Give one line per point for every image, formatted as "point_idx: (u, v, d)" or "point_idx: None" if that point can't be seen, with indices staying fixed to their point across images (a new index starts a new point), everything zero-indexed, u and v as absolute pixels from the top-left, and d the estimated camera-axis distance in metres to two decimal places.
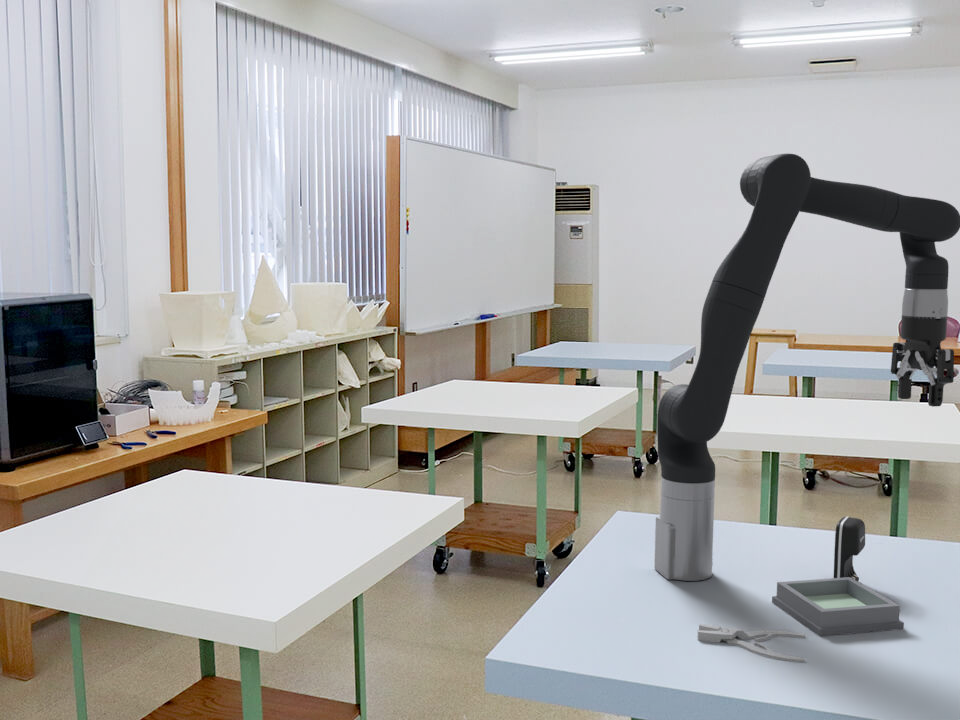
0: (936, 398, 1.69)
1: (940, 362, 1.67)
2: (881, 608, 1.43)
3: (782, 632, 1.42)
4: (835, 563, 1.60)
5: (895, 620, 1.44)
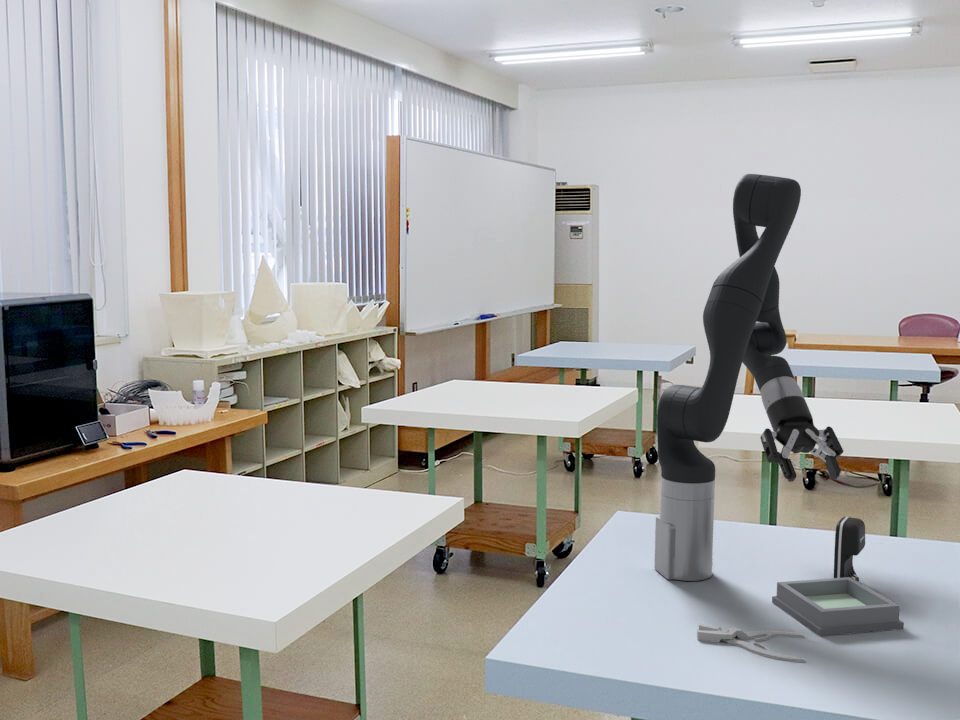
0: (839, 468, 1.74)
1: (834, 436, 1.78)
2: (881, 608, 1.43)
3: (782, 631, 1.42)
4: (835, 563, 1.60)
5: (895, 620, 1.44)
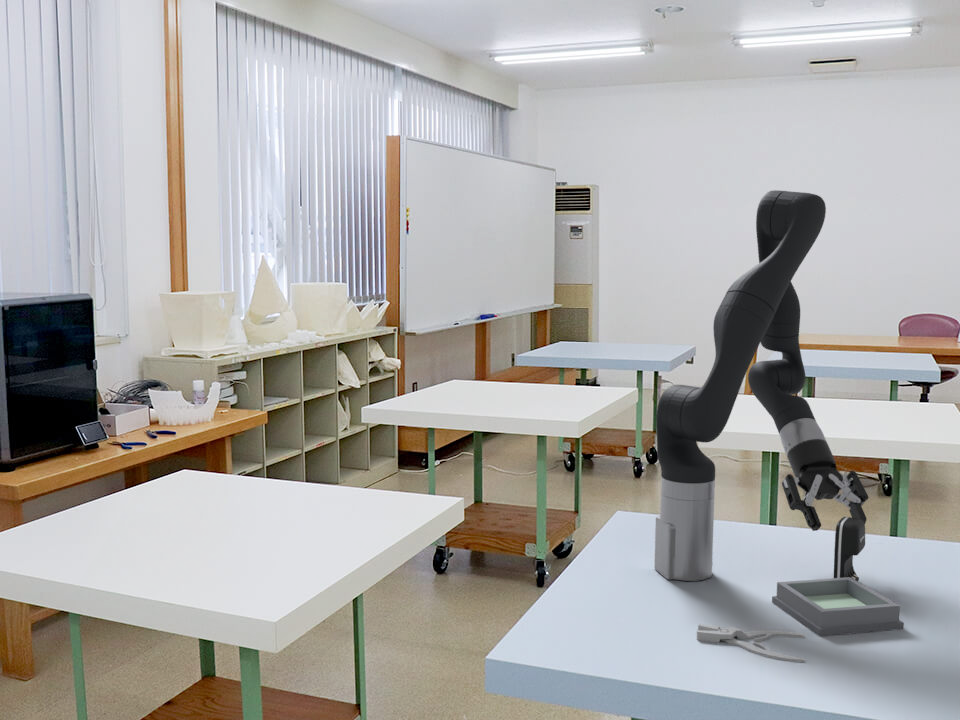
0: (864, 516, 1.67)
1: (858, 481, 1.71)
2: (881, 608, 1.43)
3: (781, 631, 1.42)
4: (835, 563, 1.60)
5: (895, 620, 1.44)
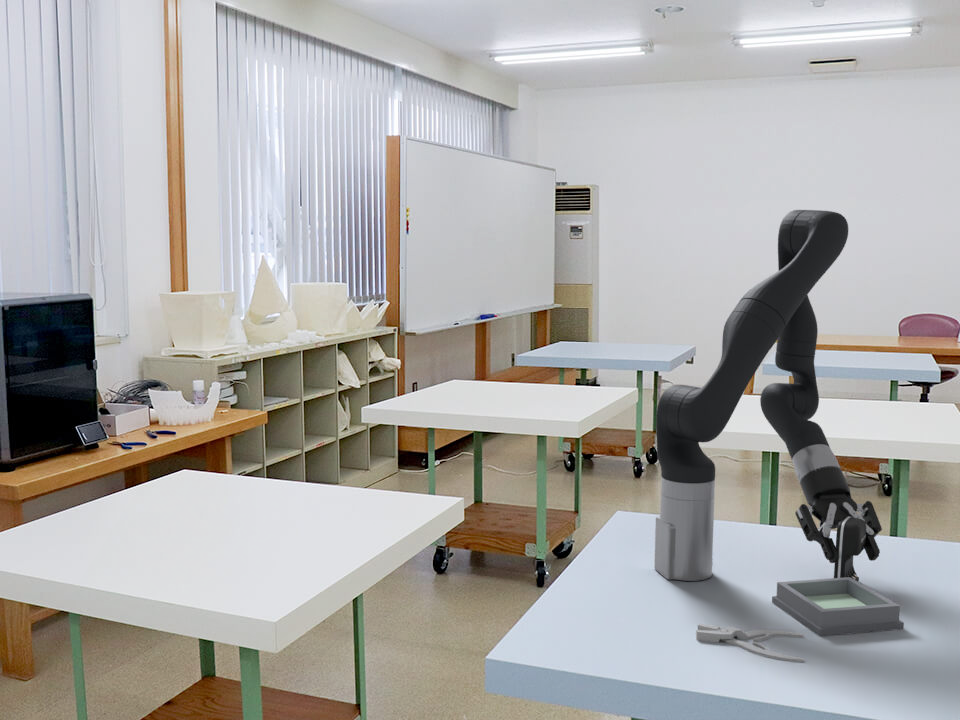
0: None
1: (873, 512, 1.66)
2: (881, 608, 1.43)
3: (781, 631, 1.42)
4: (836, 563, 1.60)
5: (895, 620, 1.44)
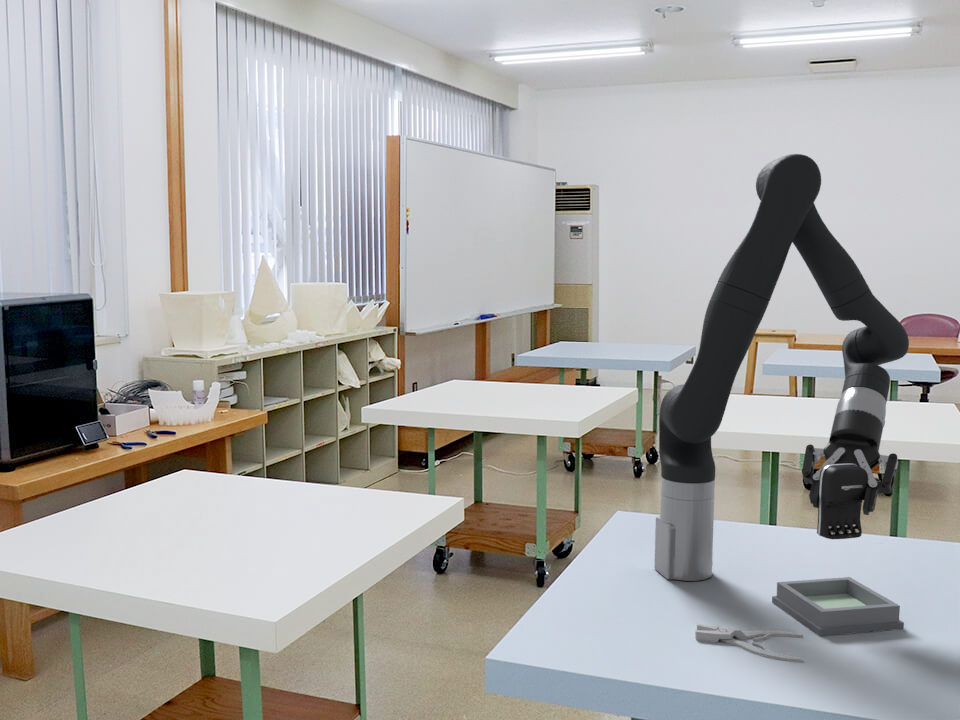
0: (874, 502, 1.44)
1: (891, 465, 1.46)
2: (881, 608, 1.43)
3: (780, 631, 1.42)
4: (818, 508, 1.48)
5: (895, 620, 1.44)
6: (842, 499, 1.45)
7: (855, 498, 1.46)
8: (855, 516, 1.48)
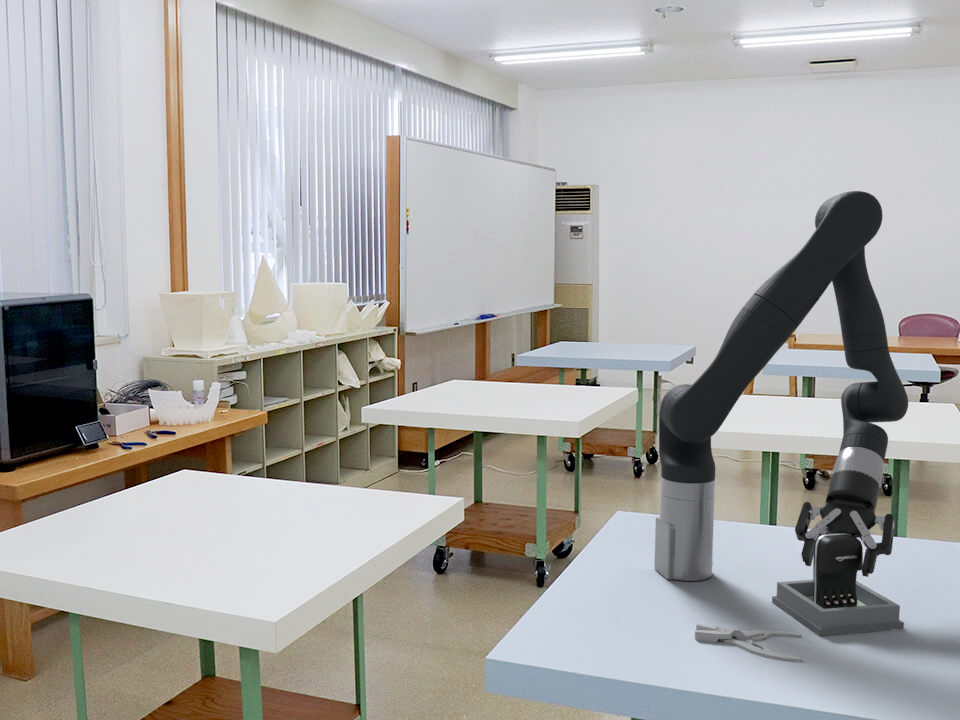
0: (873, 564, 1.45)
1: (888, 526, 1.47)
2: (881, 608, 1.43)
3: (779, 631, 1.42)
4: (813, 578, 1.49)
5: (895, 620, 1.44)
6: (837, 570, 1.46)
7: (850, 569, 1.47)
8: (850, 586, 1.49)
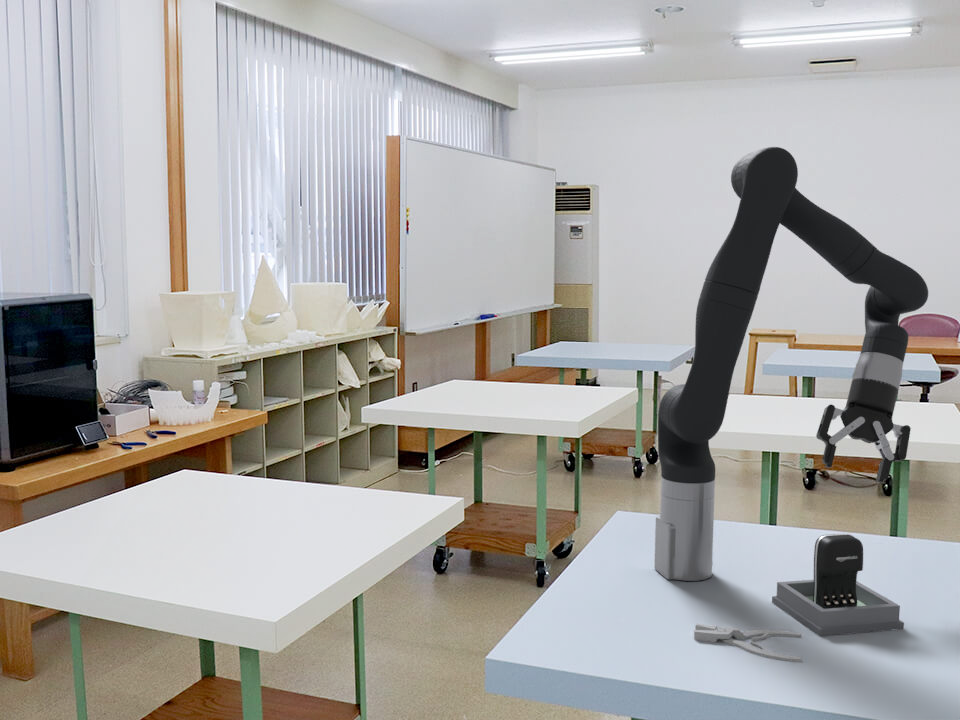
0: (888, 474, 1.59)
1: (906, 438, 1.59)
2: (881, 608, 1.43)
3: (778, 631, 1.42)
4: (814, 578, 1.49)
5: (895, 620, 1.44)
6: (837, 570, 1.46)
7: (850, 569, 1.47)
8: (851, 586, 1.49)
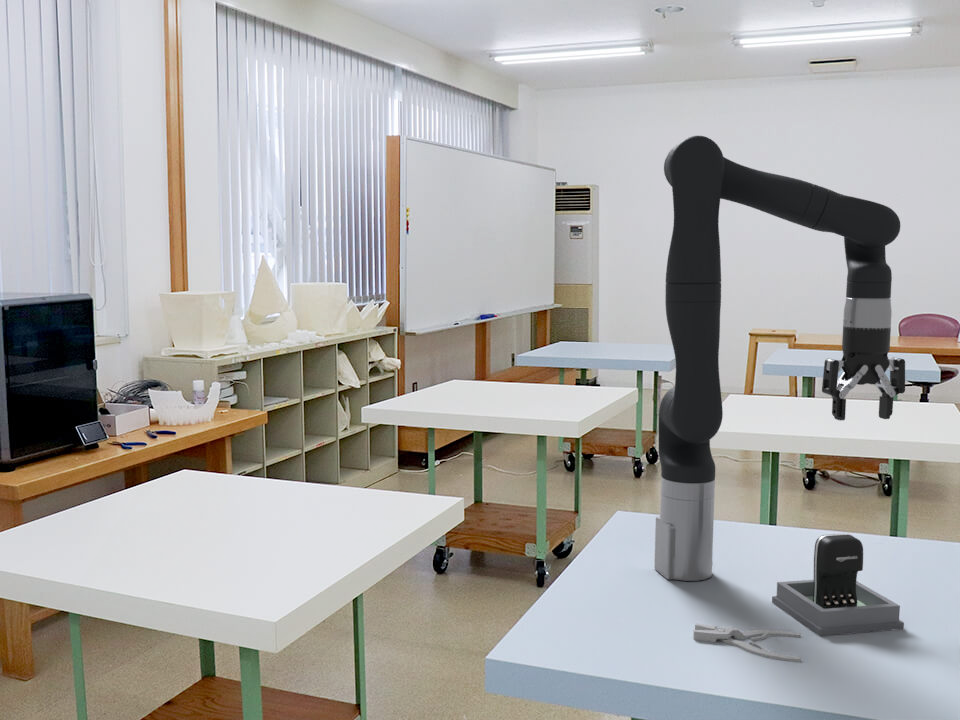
0: None
1: (902, 372, 1.62)
2: (881, 608, 1.43)
3: (778, 631, 1.42)
4: (814, 578, 1.49)
5: (895, 620, 1.44)
6: (837, 570, 1.46)
7: (850, 569, 1.47)
8: (851, 586, 1.49)
